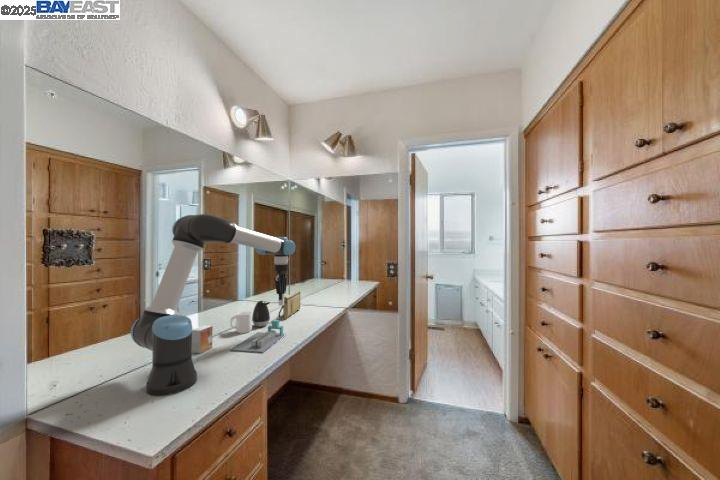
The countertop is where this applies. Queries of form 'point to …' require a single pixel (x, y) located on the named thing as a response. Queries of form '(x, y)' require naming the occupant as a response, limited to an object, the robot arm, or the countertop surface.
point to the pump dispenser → (261, 314)
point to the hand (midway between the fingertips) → (281, 305)
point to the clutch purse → (290, 304)
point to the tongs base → (266, 339)
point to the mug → (242, 322)
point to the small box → (201, 338)
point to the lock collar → (275, 326)
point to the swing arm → (254, 343)
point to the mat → (247, 347)
